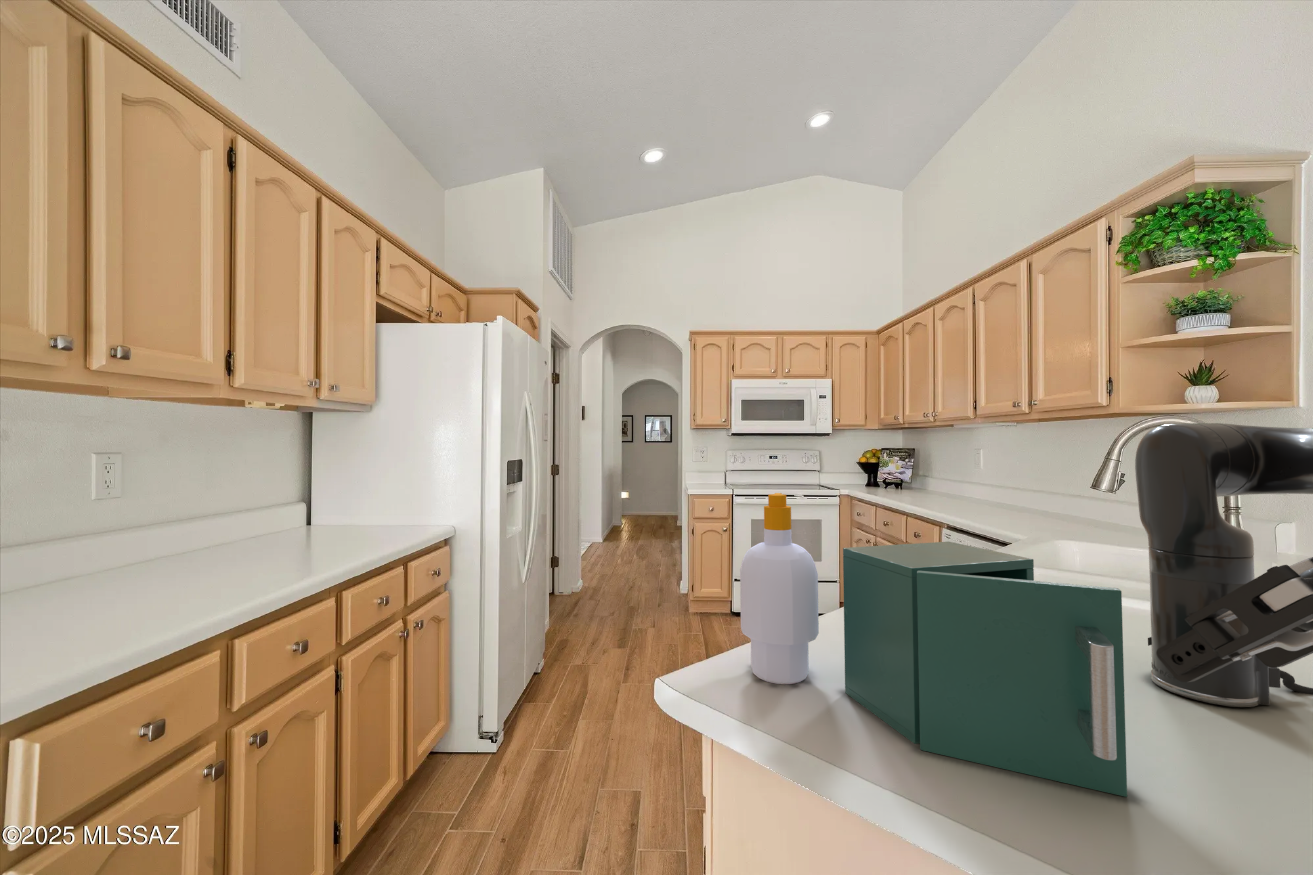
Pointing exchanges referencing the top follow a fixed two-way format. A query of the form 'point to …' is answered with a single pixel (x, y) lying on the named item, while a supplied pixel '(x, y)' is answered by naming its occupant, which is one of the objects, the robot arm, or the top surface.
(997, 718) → the fridge door
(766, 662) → the soap bottle
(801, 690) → the top surface
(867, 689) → the box
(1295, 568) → the robot arm
